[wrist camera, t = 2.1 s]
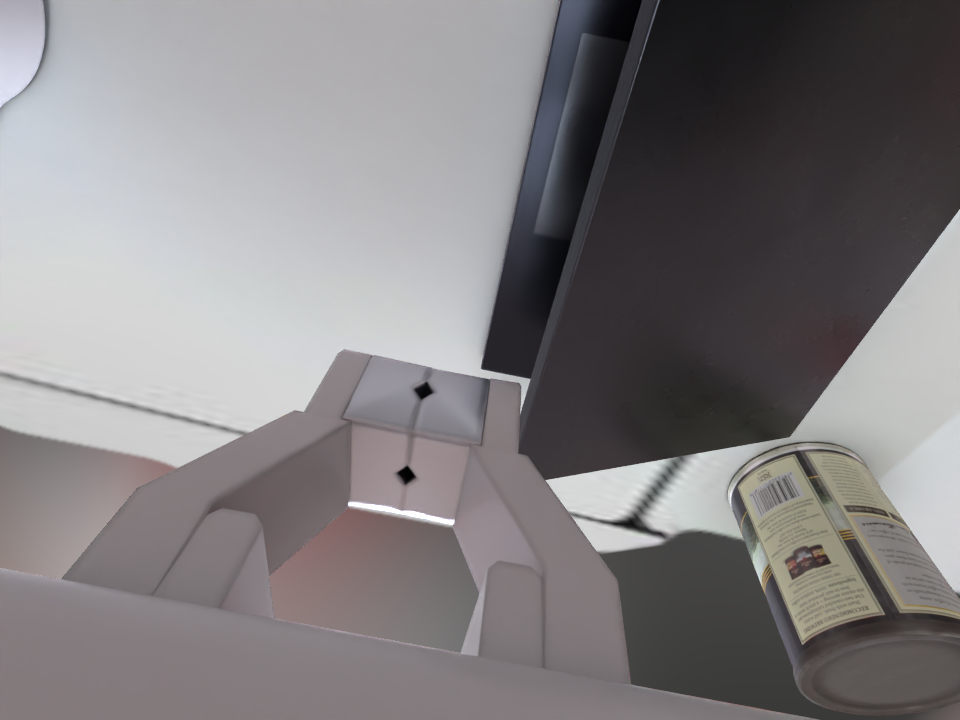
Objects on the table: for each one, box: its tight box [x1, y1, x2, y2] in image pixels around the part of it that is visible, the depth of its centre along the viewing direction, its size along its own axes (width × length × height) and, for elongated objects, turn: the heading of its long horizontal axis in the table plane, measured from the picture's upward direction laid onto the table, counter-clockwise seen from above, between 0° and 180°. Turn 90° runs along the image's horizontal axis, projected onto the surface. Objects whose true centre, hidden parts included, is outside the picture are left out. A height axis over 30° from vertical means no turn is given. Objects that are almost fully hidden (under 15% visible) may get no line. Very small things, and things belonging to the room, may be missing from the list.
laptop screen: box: [518, 0, 960, 480], centre depth 22 cm, size 21×30×1 cm
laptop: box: [481, 0, 642, 379], centre depth 27 cm, size 21×30×2 cm
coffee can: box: [728, 443, 960, 715], centre depth 35 cm, size 10×10×14 cm
